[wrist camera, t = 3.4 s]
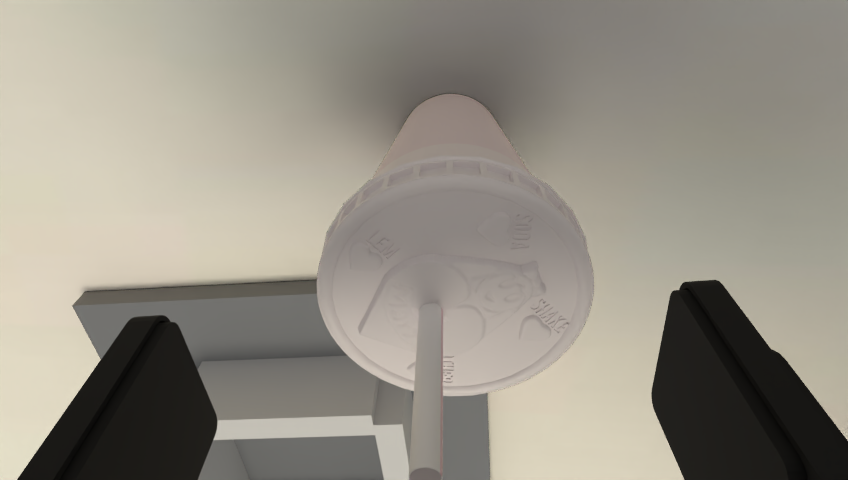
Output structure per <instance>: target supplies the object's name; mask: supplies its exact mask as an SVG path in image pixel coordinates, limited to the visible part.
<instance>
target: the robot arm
mask: <svg viewBox="0 0 848 480" xmlns="http://www.w3.org/2000/svg"><path fill="white" fill-rule="evenodd" d="M652 403H653V408H654V410H655V413H656V415H657V418H658V420H659V422H660V424H661V427H662V429H663V431H664V434H665V436H666V438H667V441H668V443H669V445H670V447H671V450H672V452H673V454H674V457H675V459H676V461H677V463H678V466H679V468H680V470H681V473H682V475H683V477H684V479H685V480H848V441H847V439H846V438H845V437H844V435H843V434H842V433H841V432H840V430H839V429H838V428H837V426H836V425H835V424H834V422H833V421H832V420H831V418H830V417H829V416H828V415H827V413H826V412H825V411H824V409H823V408H822V407H821V405H820V404H819V403H818V401H817V400H816V399H815V398H814V396H813V395H812V394H811V392H810V391H809V390H808V388H807V387H806V386H805V384H804V383H803V382H802V381H801V379H800V378H799V377H798V375H797V374H796V373H795V371H794V370H793V369H792V367H791V366H790V365H789V364H788V362H787V361H786V360H785V359H784V358H783V357H782V356H781V355H780V354H779V353H778V352H776V351H774V350H771V349H770V347H769V346H768V345H767V343H766V342H765V341H764V339H763V338H762V337H761V335H760V334H759V333H758V331H757V330H756V329H755V327H754V326H753V325H752V323H751V322H750V321H749V319H748V318H747V317H746V315H745V314H744V313H743V311H742V310H741V309H740V307H739V306H738V305H737V303H736V302H735V301H734V299H733V298H732V297H731V295H730V294H729V293H728V291H727V290H726V289H725V287H724V286H723V285H722V284H721V283H720V282H719V281H717V280H708V281H692V282H684V283H683V284H682V285H681V286H680V290H675V291H673V292H672V293H671V296H670V300H669V305H668V310H667V315H666V320H665V325H664V331H663V336H662V341H661V346H660V351H659V356H658V361H657V367H656V372H655V377H654V382H653V387H652ZM216 431H217V415H216V412H215V410H214V408H213V405H212V403H211V401H210V398H209V396H208V393H207V391H206V389H205V386H204V384H203V382H202V379H201V377H200V375H199V372H198V370H197V368H196V365H195V363H194V361H193V358H192V356H191V353H190V351H189V349H188V346H187V344H186V342H185V339H184V337H183V335H182V332H181V330H180V328H179V326H178V324H177V323H175V322H170V320H169V318H168V317H166V316H164V315H155V316H139V317H133V318H131V319H130V320H129V321H128V322H127V323H126V325H125V326H124V328H123V329H122V330H121V332H120V333H119V335H118V336H117V338H116V339H115V340H114V342H113V343H112V345H111V346H110V348H109V349H108V350H107V352H106V353H105V355H104V356H103V358H102V359H101V360H100V362H99V363H98V365H97V366H96V368H95V369H94V371H93V372H92V373H91V375H90V376H89V378H88V379H87V381H86V382H85V383H84V385H83V386H82V388H81V389H80V391H79V392H78V393H77V395H76V396H75V398H74V399H73V401H72V402H71V403H70V405H69V406H68V408H67V409H66V411H65V412H64V413H63V415H62V416H61V418H60V419H59V421H58V422H57V423H56V425H55V426H54V428H53V429H52V431H51V432H50V433H49V435H48V436H47V438H46V439H45V441H44V442H43V443H42V445H41V446H40V448H39V449H38V451H37V452H36V453H35V455H34V456H33V458H32V459H31V461H30V462H29V463H28V465H27V466H26V468H25V469H24V471H23V472H22V473H21V475H20V476H19V478H18V479H17V480H198V478H199V475H200V473H201V470H202V468H203V465H204V463H205V460H206V457H207V455H208V452H209V450H210V447H211V445H212V442H213V440H214V437H215V434H216Z"/></svg>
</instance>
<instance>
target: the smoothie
mask: <svg viewBox="0 0 848 480" xmlns="http://www.w3.org/2000/svg"><path fill="white" fill-rule="evenodd" d="M593 294H594V277H593V269H592V264H591V260H590V257H589V254H588V251H587V242H586V238H585V236H584V234H583V231H582V229H581V227H580V225H579V223H578V221H577V219H576V217H575V214H574V212H573V210H572V209H571V208H570V207H569V206H568V205H567V204H566V203H565V202H564V201H563V200H562V199H561V197H560V196H559V195H558V194H557V193H556V192H555V191H554V190H553V189H552V188H551V187H550V186H549V185H548V184H546V183H544V182H543V181H541V180H539V179H538V178H536V177H534V176H533V175H531V174H530V172H529V171H528V169H527V168H526V166H525V165H524V163H523V162H522V160H521V158H520V157H519V155H518V154H517V152H516V151H515V149H514V148H513V146H512V145H511V143H510V142H509V140H508V139H507V137H506V136H505V134H504V133H503V131H502V130H501V128H500V127H499V125H498V124H497V122H496V121H495V119H494V118H493V116H492V115H491V113H490V112H489V111H488V109H486V108H485V107H484V106H483V105H482V104H481V103H479V102H478V101H476V100H474V99H472V98H470V97H467V96H464V95H459V94H443V95H438V96H435V97H432V98H430V99H427V100H426V101H424V102H422V103H421V104H419V105H418V106H417V107H416V108H415V109H414V110H413V111H412V112H411V114H410V115H409V117H408V118H407V120H406V121H405V123H404V125H403V127H402V128H401V130H400V132H399V134H398V135H397V137H396V139H395V140H394V142H393V144H392V146H391V147H390V149H389V151H388V152H387V154H386V156H385V158H384V159H383V161H382V163H381V164H380V166H379V168H378V170H377V171H376V173H375V175H374V176H373V178H372V179H371V180H369V181H368V182H367V183H366V184H365V185H363V186H362V187H361V188H360V189H359V190H358V191H357V192H356V193H355V194H354V195H353V196H351V197H350V198H349V199H348V200H347V201H346V202H345V203H344V204H343V205H342V207H341V209H340V211H339V212H338V214H337V216H336V217H335V219H334V221H333V222H332V224H331V226H330V227H329V229H328V231H327V234H326V239H325V243H324V248H323V252H322V257H321V260H320V263H319V268H318V273H317V298H318V304H319V308H320V311H321V315H322V318H323V320H324V322H325V325H326V327H327V329H328V330H329V332H330V334H331V336H332V337H333V339H334V340H335V341H336V343H337V344H338V345H339V347H340V348H341V349H342V350H343V351H344V352H345V353H346V354H347V355H348V356H349V357H350V358H351V359H352V360H353V361H354V362H356V363H357V364H358V365H359V366H360V367H362V368H363V369H365V370H366V371H368V372H369V373H371V374H373V375H374V376H376V377H378V378H380V379H381V380H384V381H386V382H388V383H391V384H393V385H396V386H398V387H401V388H404V389H408V390H411V391H414V398H413V414H412V430H411V446H410V462H409V480H442V479H443V396H472V395H478V394H484V393H490V392H495V391H498V390H501V389H505V388H508V387H511V386H514V385H517V384H519V383H521V382H523V381H525V380H528V379H530V378H531V377H533V376H535V375H537V374H539V373H540V372H542V371H543V370H545V369H546V368H548V367H549V366H550V365H552V364H553V363H554V362H555V361H557V360H558V359H559V358H560V357H561V356H562V355H563V354H564V353H565V352H566V351H567V350H568V349H569V347H570V346H571V345H572V344H573V343H574V341H575V340H576V338H577V337H578V336H579V334H580V332H581V330H582V329H583V327H584V325H585V323H586V320H587V318H588V315H589V312H590V309H591V305H592V300H593Z"/></svg>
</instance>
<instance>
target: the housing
mask: <svg viewBox="0 0 848 480" xmlns="http://www.w3.org/2000/svg"><path fill="white" fill-rule="evenodd" d="M72 306H73V308H74V310H75V312H76V314H77V316H78V318H79V319H80V321H81V323H82V325H83V327H84V329H85V331H86V333H87V334H88V336H89V338H90V340H91V342H92V344H93V346H94V348H95V349H96V351H97V353H98V355H99V357H100V359H102V358H103V356H104V355H105V353H106V352H107V350H108V349H109V348H110V346H111V345H112V343H113V342H114V340H115V339H116V338H117V336H118V335H119V333H120V332H121V330H122V329H123V328H124V326H125V325H126V323H127V322H128V321H129V320H130V319H131V318H133V317H139V316H155V315H164V316H166V317H168V318H169V320H170V322H175V323H177V324H178V326H179V328H180V330H181V332H182V335H183V337H184V339H185V342H186V344H187V346H188V349H189V351H190V353H191V356H192V358H193V361H194V363H195V365H196V368H197V370H198V372H199V375H200V377H201V379H202V382H203V384H204V386H205V389H206V391H207V393H208V396H209V398H210V401H211V403H212V405H213V408H214V410H215V412H216V415H217V431H216V434H215V437H214V440H213V442H212V445H211V447H210V450H209V452H208V455H207V457H206V460H205V463H204V465H203V468H202V470H201V473H200V475H199V478H198V480H409V462H410V446H411V430H412V414H413V398H414V391H411V390H408V389H404V388H401V387H398V386H396V385H393V384H391V383H388V382H386V381H384V380H381V379H380V378H378V377H376V376H374V375H373V374H371V373H369V372H368V371H366V370H365V369H363V368H362V367H360V366H359V365H358V364H357V363H356V362H354V361H353V360H352V359H351V358H350V357H349V356H348V355H347V354H346V353H345V352H344V351H343V350H342V349H341V348H340V347H339V345H338V344H337V343H336V341H335V340H334V339H333V337H332V336H331V334H330V332H329V330H328V329H327V327H326V325H325V322H324V320H323V318H322V315H321V311H320V308H319V304H318V298H317V280H309V281H290V282H270V283H251V284H231V285H211V286H192V287H172V288H153V289H133V290H114V291H94V292H84V293H83V295H82V296H81V297H80V298H79V299H78V300H77V301H76V302H75V303H74V304H73V305H72ZM442 480H490V463H489V435H488V406H487V393H484V394H478V395H472V396H443V479H442Z"/></svg>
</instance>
